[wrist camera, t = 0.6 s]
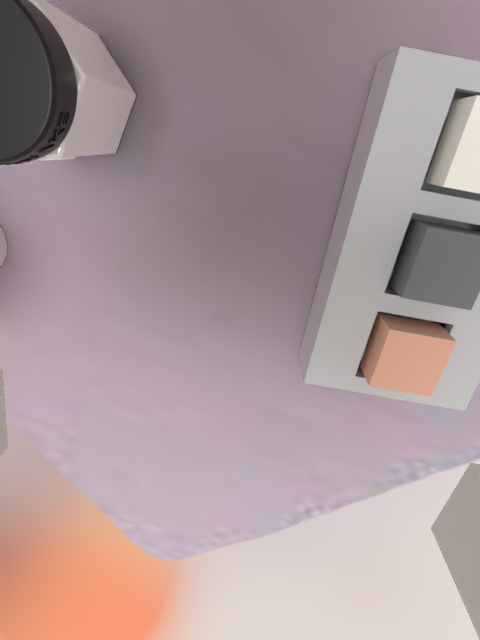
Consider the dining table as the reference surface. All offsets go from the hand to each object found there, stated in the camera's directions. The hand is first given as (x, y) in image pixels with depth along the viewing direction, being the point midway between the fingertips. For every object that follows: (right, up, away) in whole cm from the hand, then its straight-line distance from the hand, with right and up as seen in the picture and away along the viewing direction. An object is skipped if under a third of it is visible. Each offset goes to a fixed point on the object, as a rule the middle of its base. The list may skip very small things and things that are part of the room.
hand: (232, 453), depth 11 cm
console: (+15, +10, +22) cm, 28 cm away
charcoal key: (+15, +8, +17) cm, 24 cm away
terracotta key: (+13, +2, +21) cm, 25 cm away
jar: (-12, +21, +19) cm, 30 cm away
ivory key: (+16, +15, +14) cm, 26 cm away
